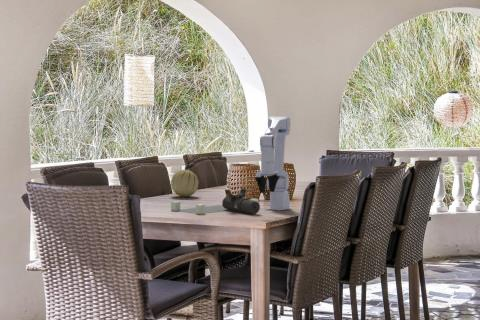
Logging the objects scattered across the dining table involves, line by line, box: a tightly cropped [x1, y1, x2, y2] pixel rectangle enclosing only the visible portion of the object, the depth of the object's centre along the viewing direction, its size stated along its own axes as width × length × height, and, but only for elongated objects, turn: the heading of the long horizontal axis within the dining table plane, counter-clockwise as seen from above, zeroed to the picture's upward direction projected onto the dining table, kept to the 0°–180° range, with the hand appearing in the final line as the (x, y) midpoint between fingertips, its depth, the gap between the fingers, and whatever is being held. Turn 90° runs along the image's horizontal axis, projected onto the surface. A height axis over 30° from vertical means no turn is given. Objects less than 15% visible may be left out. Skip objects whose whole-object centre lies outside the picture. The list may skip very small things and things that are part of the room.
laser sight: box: [221, 188, 261, 215], centre depth 378 cm, size 10×22×10 cm, turn 36°
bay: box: [170, 195, 259, 215], centre depth 389 cm, size 40×19×4 cm, turn 138°
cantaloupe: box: [170, 168, 199, 198], centre depth 441 cm, size 15×15×15 cm
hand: (267, 192), depth 366 cm, fingers open, 7 cm apart
